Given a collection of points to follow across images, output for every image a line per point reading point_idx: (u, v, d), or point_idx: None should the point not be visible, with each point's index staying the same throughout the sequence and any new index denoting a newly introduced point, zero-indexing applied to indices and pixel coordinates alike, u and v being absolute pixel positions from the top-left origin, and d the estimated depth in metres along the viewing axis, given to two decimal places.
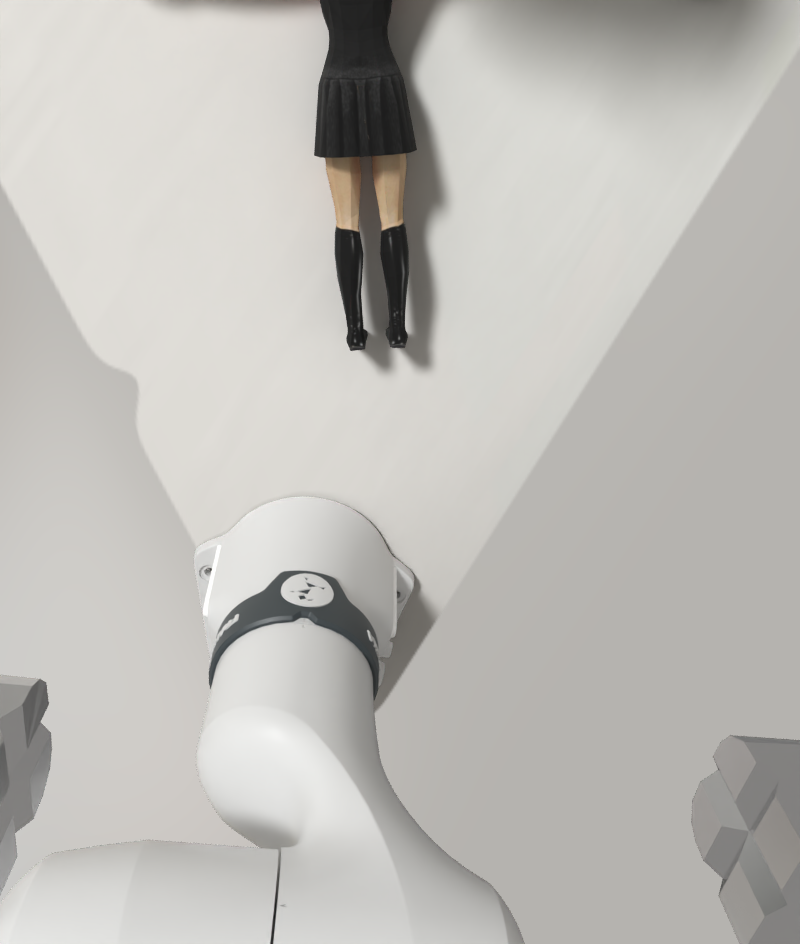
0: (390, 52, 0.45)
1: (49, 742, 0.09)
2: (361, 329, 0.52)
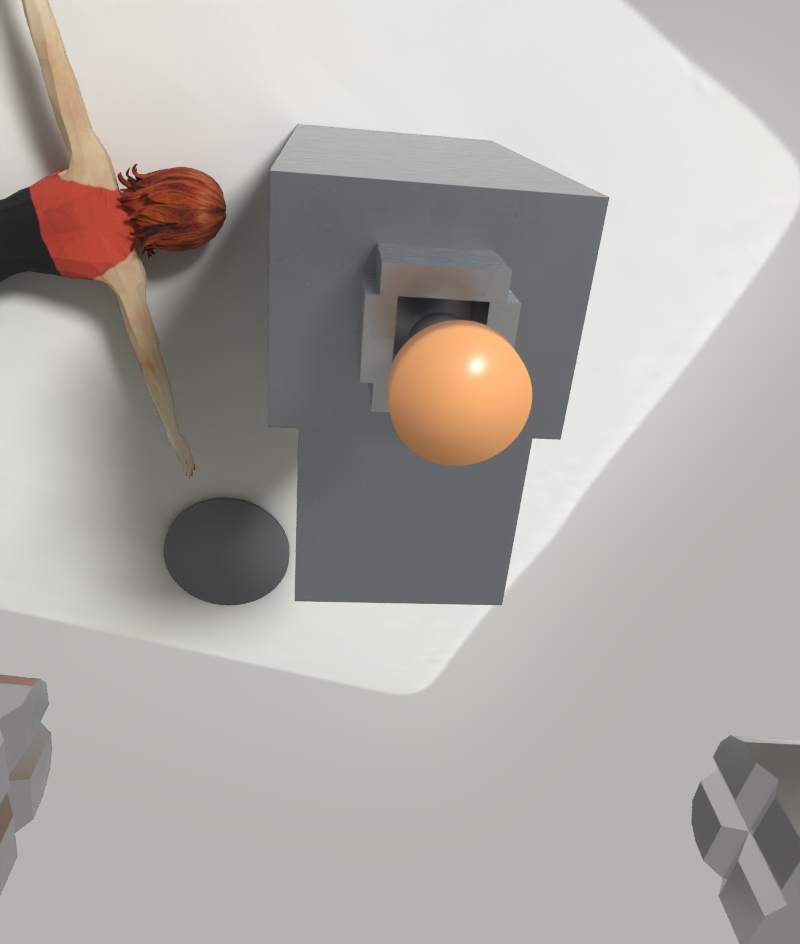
0: (0, 279, 0.38)
1: (49, 742, 0.09)
2: None
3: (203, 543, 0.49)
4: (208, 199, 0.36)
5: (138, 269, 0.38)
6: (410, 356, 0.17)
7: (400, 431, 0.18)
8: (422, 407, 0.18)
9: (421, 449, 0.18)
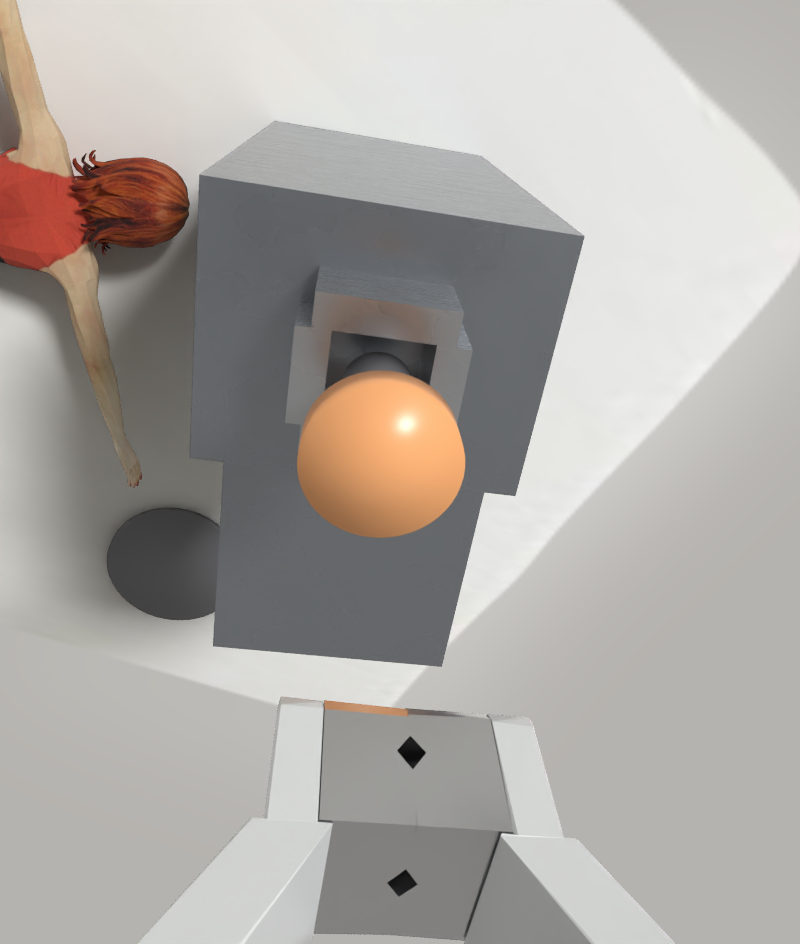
0: None
1: None
2: None
3: (149, 554, 0.46)
4: (169, 195, 0.34)
5: (89, 264, 0.35)
6: (322, 410, 0.15)
7: (309, 494, 0.16)
8: (335, 469, 0.15)
9: (333, 516, 0.16)
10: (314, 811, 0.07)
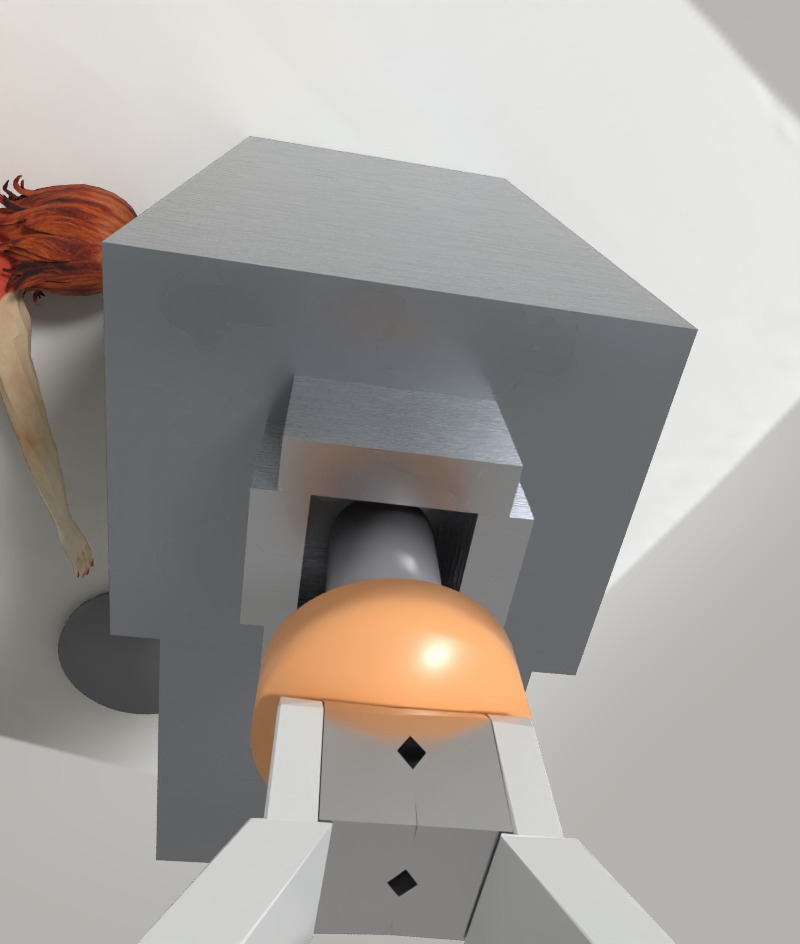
0: None
1: None
2: None
3: (108, 642, 0.39)
4: (114, 232, 0.27)
5: (17, 316, 0.28)
6: (290, 664, 0.09)
7: None
8: None
9: None
10: (314, 811, 0.07)
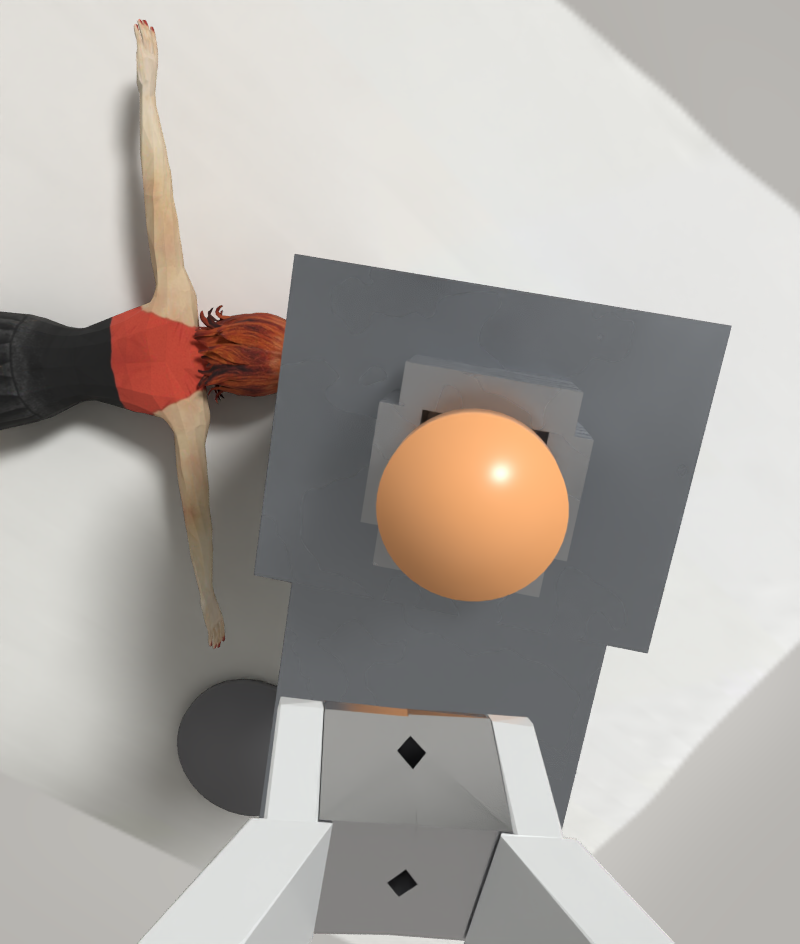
0: (64, 405, 0.37)
1: None
2: None
3: (223, 730, 0.42)
4: None
5: (201, 410, 0.35)
6: (407, 438, 0.13)
7: (387, 540, 0.14)
8: (418, 511, 0.14)
9: (413, 569, 0.14)
10: (314, 811, 0.07)
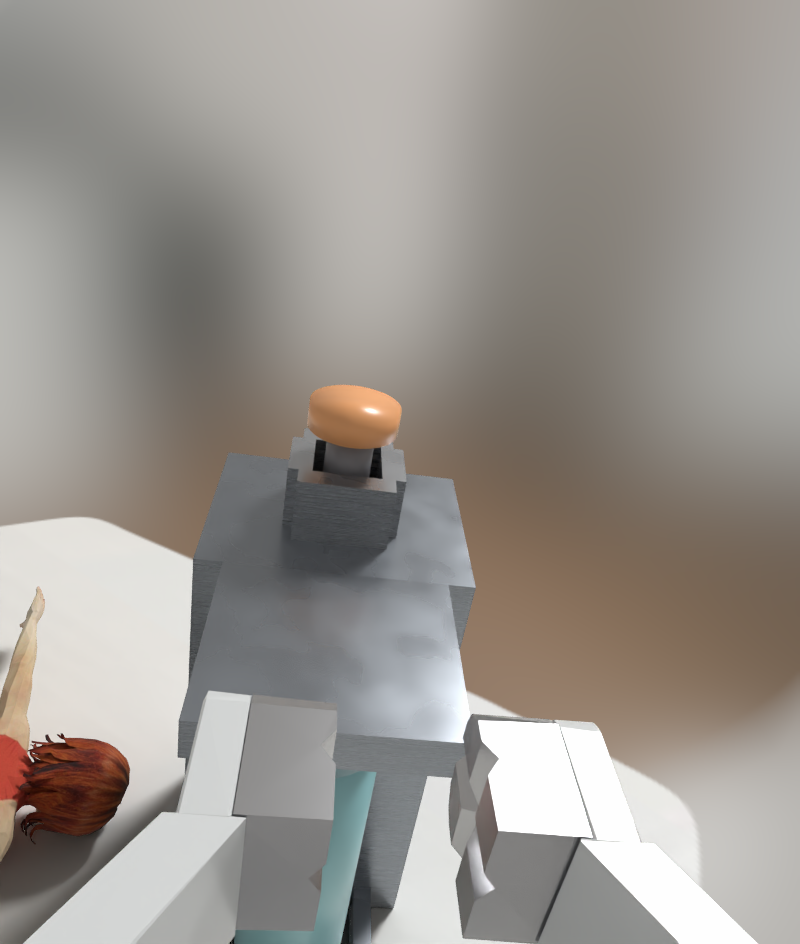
0: None
1: None
2: None
3: None
4: (117, 757, 0.37)
5: (10, 819, 0.33)
6: (321, 388, 0.29)
7: (317, 407, 0.27)
8: (331, 402, 0.28)
9: (332, 414, 0.27)
10: (228, 805, 0.07)
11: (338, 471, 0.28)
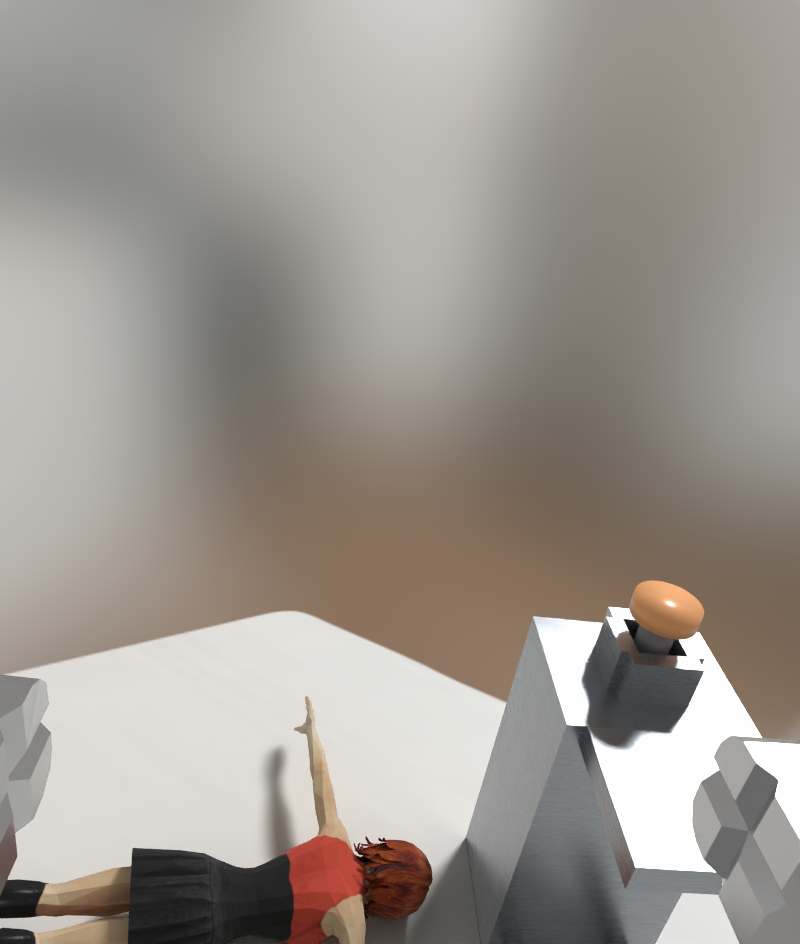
0: (234, 928, 0.41)
1: (49, 742, 0.09)
2: None
3: None
4: (422, 855, 0.46)
5: (363, 911, 0.43)
6: (637, 586, 0.39)
7: (648, 609, 0.37)
8: (653, 602, 0.38)
9: (662, 616, 0.37)
10: None
11: (653, 650, 0.38)
